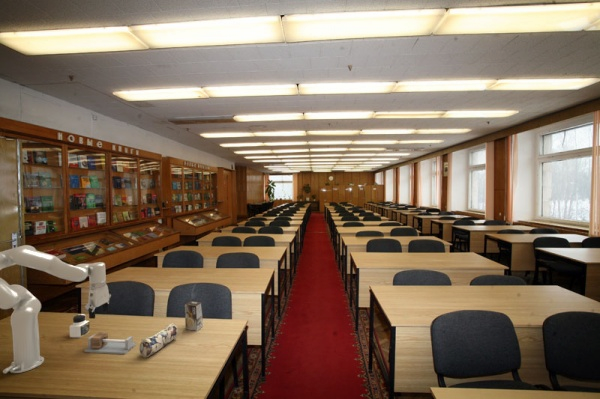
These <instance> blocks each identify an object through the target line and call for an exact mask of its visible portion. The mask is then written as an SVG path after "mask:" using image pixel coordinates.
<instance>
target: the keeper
mask: <svg viewBox="0 0 600 399" xmlns="http://www.w3.org/2000/svg"><path fill="white" fill-rule="evenodd" d="M94 335H95V336H93V337H91V336H90V337H91V348H96V349H100V348H102V347H103V346H104V345H106V344H107V343H108V342H102V339H109V333H108V332H103V331H102V332H98V333H96V334H94Z"/></svg>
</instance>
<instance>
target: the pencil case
mask: <svg viewBox="0 0 600 399" xmlns="http://www.w3.org/2000/svg"><path fill="white" fill-rule="evenodd" d="M178 335H179V329H178V326H177V325H175V323H173V322H172V323H170V324H168V325H167V326H166V327H165V328H164V329H161V330H160V331H158V332H157V333H156V334H154V335H152V336H150V337H145V338H142V339H141V342H140V343H139V348H138V349H139V354H140V355H141V357H143V358H149V357H150V356H152V355H154V354H155V353H156V352H158V351H160V350H161V349H162V348H164V347H165V346H166V345H168V344H169V343H171V342H172V341H173V340H175V339H177V337H178Z"/></svg>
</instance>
